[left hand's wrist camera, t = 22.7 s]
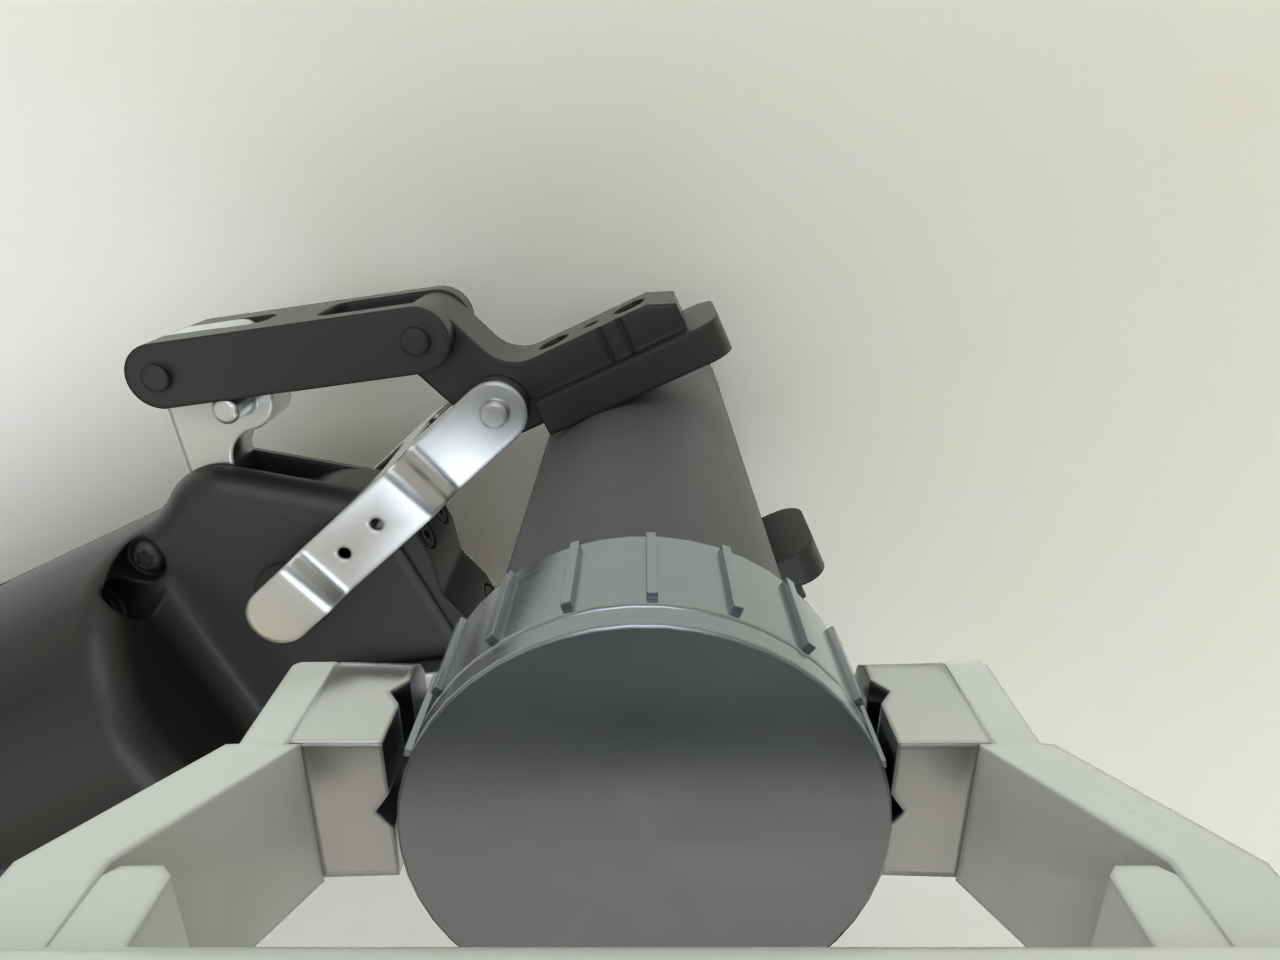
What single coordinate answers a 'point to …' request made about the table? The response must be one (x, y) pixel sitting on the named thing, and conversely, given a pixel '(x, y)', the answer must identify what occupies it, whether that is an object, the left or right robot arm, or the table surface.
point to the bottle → (647, 478)
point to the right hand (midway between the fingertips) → (764, 436)
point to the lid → (644, 760)
